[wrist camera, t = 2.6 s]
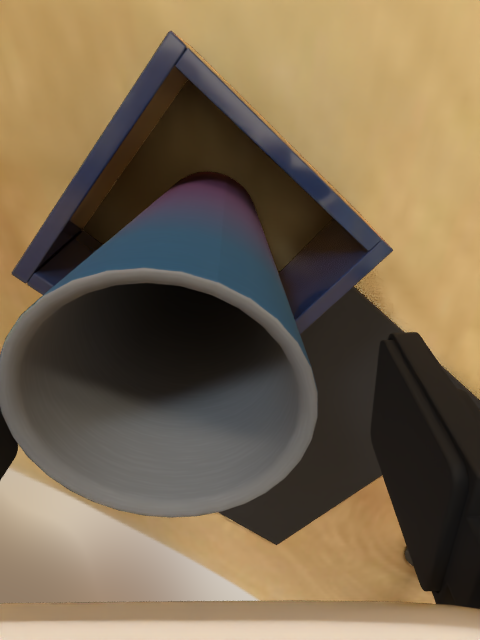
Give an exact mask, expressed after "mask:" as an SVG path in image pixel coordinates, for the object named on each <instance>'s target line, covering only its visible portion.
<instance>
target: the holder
mask: <svg viewBox="0 0 480 640" xmlns="http://www.w3.org/2000/svg"><path fill="white" fill-rule="evenodd" d="M188 79H189V80H190V81H191V82H192V83H193V84H194V85H195V86H196V87H197V88H198V89H199V90H200V91H201V92H202V93H203V94H204V95H205V96H206V97H207V98H208V99H209V100H210V101H212V102H213V103H214V104H215V105H216V106H217V107H218V108H219V109H220V110H221V111H222V112H223V113H224V114H225V115H226V116H227V117H228V118H229V119H230V120H231V121H232V122H233V123H235V124H236V125H237V126H238V127H239V128H240V129H241V130H242V131H243V132H244V133H245V134H246V135H247V136H248V137H249V138H250V139H251V140H252V141H253V142H254V143H255V144H256V145H258V146H259V147H260V148H261V149H262V150H263V151H264V152H265V153H266V154H267V155H268V156H269V157H270V158H271V159H272V160H273V161H274V162H275V163H276V164H277V165H278V166H279V167H280V168H282V169H283V170H284V171H285V172H286V173H287V174H288V175H289V176H290V177H291V178H292V179H293V180H294V181H295V182H296V183H297V184H298V185H299V186H300V187H301V188H302V189H303V190H305V191H306V192H307V193H308V194H309V195H310V196H311V197H312V198H313V199H314V200H315V201H316V202H317V203H318V204H319V205H320V206H321V207H322V208H323V209H324V210H325V211H326V212H327V213H329V214H330V215H331V216H332V217H333V219H332V220H331V221H330V222H329V223H328V224H327V225H326V226H325V227H324V228H323V229H322V230H321V231H320V232H319V233H318V234H317V235H316V236H315V237H314V238H313V239H312V240H311V241H310V242H309V243H308V244H307V245H306V247H305V248H304V249H303V250H302V251H301V252H300V253H299V254H298V255H297V256H296V257H295V258H294V259H293V260H292V261H291V262H290V263H289V264H288V265H287V266H286V267H285V268H284V269H283V270H282V271H281V272H280V273H279V277H280V280H281V282H282V285H283V288H284V291H285V294H286V297H287V299H288V302H289V305H290V308H291V311H292V313H293V316H294V319H295V322H296V325H297V328H298V330H299V333H300V334H301V333H303V332H304V331H305V330H306V329H307V328H308V327H309V326H310V325H311V324H312V323H314V322H315V321H316V320H317V319H318V318H319V317H320V316H321V315H322V314H324V313H325V312H326V311H327V310H328V309H329V308H330V307H331V306H332V305H333V304H335V303H336V302H337V301H338V300H339V299H340V298H341V297H342V296H343V295H345V294H346V293H347V292H348V291H349V290H350V289H351V288H352V287H353V286H354V285H356V284H357V283H358V282H359V281H360V280H361V279H362V278H363V277H364V276H366V275H367V274H368V273H369V272H370V271H371V270H372V269H373V268H374V267H375V266H377V265H378V264H379V263H380V262H381V261H382V260H383V259H384V258H385V257H387V256H388V255H389V254H390V253H391V252H392V251H393V249H392V248H391V247H390V246H389V245H388V244H387V243H386V241H385V240H384V239H383V238H382V237H381V236H380V235H379V234H378V233H377V232H376V231H375V230H374V228H373V227H372V226H371V225H370V224H369V223H368V222H367V221H366V220H365V219H364V218H363V217H362V215H361V214H360V213H359V212H358V211H357V210H356V209H355V208H354V207H353V206H352V205H351V204H350V203H349V202H348V201H347V200H346V199H345V198H344V197H343V196H342V195H341V194H340V193H339V192H338V191H337V190H336V189H335V188H334V187H333V186H332V185H331V184H330V183H329V182H328V181H327V180H326V179H325V178H324V177H323V176H322V175H321V174H320V173H319V172H318V171H317V170H316V169H315V168H314V167H313V166H312V165H311V164H310V163H309V162H308V161H306V160H305V159H304V158H303V157H302V156H301V155H300V154H299V153H298V152H297V151H296V150H295V149H294V148H293V147H292V146H291V145H290V144H289V143H288V142H287V141H286V140H285V139H284V138H283V137H282V136H281V135H280V134H279V133H278V132H277V131H276V130H275V129H274V128H273V127H272V126H271V125H270V124H269V123H268V122H267V121H266V120H265V119H264V118H263V117H262V116H261V115H260V114H259V113H258V112H257V111H256V110H255V109H254V108H253V107H252V106H251V105H250V104H249V103H248V102H247V101H246V100H245V99H244V98H243V97H242V96H241V95H240V94H239V93H238V92H237V91H236V90H235V89H234V88H233V87H232V86H231V85H230V84H229V83H228V82H227V81H226V80H225V79H224V78H223V77H222V76H221V75H220V74H219V73H218V72H217V71H216V70H215V69H214V68H213V67H212V66H211V65H210V64H209V63H208V62H207V61H206V60H205V59H203V58H202V56H201V55H200V54H199V53H198V52H197V51H196V50H195V49H194V48H193V47H191V46H190V45H189V44H188V43H186V42H185V41H184V40H182V39H181V38H180V37H179V36H177V35H176V34H175V33H174V32H172V31H169V32H168V33H167V35H166V36H165V38H164V40H163V41H162V43H161V44H160V46H159V47H158V49H157V50H156V52H155V53H154V55H153V56H152V58H151V59H150V61H149V63H148V64H147V66H146V67H145V69H144V70H143V72H142V73H141V75H140V76H139V78H138V79H137V81H136V82H135V84H134V86H133V87H132V89H131V90H130V92H129V93H128V95H127V96H126V98H125V99H124V101H123V102H122V104H121V105H120V107H119V109H118V110H117V112H116V113H115V115H114V116H113V118H112V119H111V121H110V122H109V124H108V125H107V127H106V129H105V130H104V132H103V133H102V135H101V136H100V138H99V139H98V141H97V142H96V144H95V145H94V147H93V148H92V150H91V152H90V153H89V155H88V156H87V158H86V159H85V161H84V162H83V164H82V165H81V167H80V168H79V170H78V171H77V173H76V175H75V176H74V178H73V179H72V181H71V182H70V184H69V185H68V187H67V188H66V190H65V191H64V193H63V194H62V196H61V198H60V199H59V201H58V202H57V204H56V205H55V207H54V208H53V210H52V211H51V213H50V214H49V216H48V217H47V219H46V221H45V222H44V224H43V225H42V227H41V228H40V230H39V231H38V233H37V234H36V236H35V237H34V239H33V240H32V242H31V244H30V245H29V247H28V248H27V250H26V251H25V253H24V254H23V256H22V257H21V259H20V260H19V262H18V263H17V265H16V267H15V268H14V270H13V271H12V275H13V276H15V277H16V278H18V279H19V280H21V281H22V282H24V283H27V282H28V283H27V284H28V285H29V286H30V287H32V288H33V289H35V290H36V291H38V292H39V293H41V294H42V295H44V294H45V293H46V292H48V291H49V290H50V289H51V288H52V287H53V286H55V285H56V284H57V283H58V282H59V281H61V280H62V279H63V278H64V277H65V276H67V275H68V274H69V273H70V272H71V271H73V270H74V269H75V268H76V267H77V266H78V265H80V264H81V263H82V262H83V261H84V260H86V259H87V258H88V257H89V256H90V255H92V254H93V253H94V252H95V251H96V250H98V249H99V248H100V247H101V246H102V244H101V243H100V242H98V241H97V240H96V239H94V238H93V237H91V236H90V235H89V234H87V233H86V232H85V231H83V230H82V229H83V228H84V227H85V225H86V224H87V222H88V221H89V219H90V218H91V217H92V215H93V214H94V212H95V211H96V210H97V208H98V207H99V205H100V204H101V202H102V201H103V200H104V198H105V197H106V195H107V194H108V192H109V191H110V190H111V188H112V187H113V185H114V184H115V183H116V181H117V180H118V178H119V177H120V175H121V174H122V173H123V171H124V170H125V168H126V167H127V165H128V164H129V163H130V161H131V160H132V158H133V157H134V156H135V154H136V153H137V151H138V150H139V148H140V147H141V146H142V144H143V143H144V141H145V140H146V138H147V137H148V136H149V134H150V133H151V131H152V130H153V129H154V127H155V126H156V124H157V123H158V121H159V120H160V119H161V117H162V116H163V114H164V113H165V111H166V110H167V109H168V107H169V106H170V104H171V103H172V102H173V100H174V99H175V97H176V96H177V94H178V93H179V92H180V90H181V89H182V87H183V86H184V84H185V83H186V82H187V80H188Z"/></svg>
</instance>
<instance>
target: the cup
mask: <svg viewBox="0 0 480 640" xmlns="http://www.w3.org/2000/svg"><path fill="white" fill-rule="evenodd" d="M0 407H1V412H2V415H3V417H4V419H5V421H6V423H7V425H8V428H9V430H10V432H11V434H12V436H13V438H14V439H15V440H16V442H17V443H18V444H19V446H20V447H21V448H22V450H23V451H24V452H25V454H26V455H27V456H28V457H29V458H30V459H31V460H32V461H33V462H34V463H35V464H36V465H37V466H38V467H39V468H40V469H41V470H42V471H44V472H45V473H46V474H47V475H48V476H49V477H51V478H52V479H54V480H55V481H57V482H58V483H60V484H61V485H63V486H64V487H66V488H67V489H69V490H70V491H72V492H74V493H76V494H78V495H80V496H83V497H85V498H87V499H89V500H91V501H93V502H95V503H98V504H101V505H104V506H107V507H110V508H113V509H116V510H120V511H125V512H130V513H135V514H139V515H144V516H158V517H190V516H200V515H205V514H211V513H216V512H221V511H224V510H227V509H230V508H233V507H236V506H239V505H242V504H245V503H247V502H249V501H251V500H253V499H255V498H257V497H258V496H260V495H262V494H264V493H266V492H268V491H269V490H270V489H271V488H273V487H274V486H275V485H277V484H278V483H279V482H280V481H282V480H283V479H284V478H286V476H287V475H288V474H289V473H290V472H291V471H292V469H293V468H294V467H295V466H296V465H297V464H298V463H299V461H300V460H301V459H302V457H303V455H304V453H305V451H306V449H307V447H308V446H309V444H310V442H311V440H312V437H313V433H314V429H315V425H316V421H317V417H318V391H317V387H316V383H315V379H314V375H313V371H312V367H311V364H310V361H309V359H308V356H307V353H306V350H305V347H304V345H303V342H302V339H301V336H300V333H299V330H298V328H297V325H296V322H295V319H294V316H293V313H292V311H291V308H290V305H289V302H288V299H287V297H286V294H285V291H284V288H283V285H282V282H281V280H280V277H279V274H278V271H277V268H276V266H275V263H274V260H273V257H272V254H271V251H270V249H269V246H268V243H267V240H266V237H265V235H264V232H263V229H262V226H261V223H260V220H259V218H258V215H257V212H256V209H255V206H254V203H253V201H252V199H251V198H250V196H249V194H248V193H247V191H246V190H245V189H244V188H243V187H242V186H241V185H240V184H239V183H238V182H237V181H235V180H234V179H232V178H230V177H228V176H226V175H223V174H220V173H216V172H198V173H195V174H191V175H188V176H187V177H185V178H183V179H181V180H180V181H179V182H177V183H176V184H175V185H174V186H173V187H171V188H170V189H169V190H168V191H167V192H165V193H164V194H163V195H162V196H161V197H160V198H158V199H157V200H156V201H155V202H154V203H152V204H151V205H150V206H149V207H148V208H146V209H145V210H144V211H143V212H142V213H140V214H139V215H138V216H137V217H136V218H134V219H133V220H132V221H131V222H130V223H129V224H127V225H126V226H125V227H124V228H123V229H121V230H120V231H119V232H118V233H117V234H115V235H114V236H113V237H112V238H111V239H109V240H108V241H107V242H106V243H105V244H104V245H102V246H101V247H100V248H99V249H98V250H96V251H95V252H94V253H93V254H92V255H90V256H89V257H88V258H87V259H86V260H84V261H83V262H82V263H81V264H80V265H78V266H77V267H76V268H75V269H74V270H73V271H71V272H70V273H69V274H68V275H67V276H65V277H64V278H63V279H62V280H61V281H59V282H58V283H57V284H56V285H55V286H53V287H52V288H51V289H50V290H49V291H48V292H46V293H45V294H44V295H43V296H42V297H41V298H39V299H38V300H37V301H36V302H35V303H34V304H33V305H32V306H30V307H29V308H28V309H27V310H26V311H25V312H24V313H23V314H21V316H20V317H19V319H18V320H17V322H16V323H15V325H14V326H13V328H12V329H11V331H10V332H9V334H8V335H7V337H6V338H5V342H4V345H3V348H2V351H1V354H0Z"/></svg>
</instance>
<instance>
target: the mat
mask: <svg viewBox="0 0 480 640" xmlns="http://www.w3.org/2000/svg"><path fill="white" fill-rule="evenodd" d="M391 333H404V332H403V331H402V330H401V329H400V328H399V327H398V326H397V325H396V324H394V323H393V322H392V321H391V320H390V319H389V318H388V317H387V316H386V315H385V314H383V313H382V312H381V311H380V310H379V309H378V308H377V307H376V306H375V305H373V304H372V303H371V302H370V301H369V300H368V299H367V298H366V297H365V296H363V295H362V294H361V293H360V292H359V291H358V290H357V289H356V288H355V287H352V288H351V289H350V290H349V291H348V292H347V293H346V294H345V295H343V296H342V297H341V298H340V299H339V300H338V301H337V302H336V303H335V304H333V305H332V306H331V307H330V308H329V309H328V310H327V311H326V312H325V313H324V314H322V315H321V316H320V317H319V318H318V319H317V320H316V321H315V322H314V323H312V324H311V325H310V326H309V327H308V328H307V329H306V330H305V331H304V332H303V333H301V334H300V336H301V339H302V342H303V345H304V347H305V350H306V353H307V356H308V359H309V361H310V364H311V367H312V371H313V375H314V379H315V383H316V387H317V391H318V417H317V421H316V425H315V429H314V433H313V437H312V440H311V442H310V444H309V446H308V447H307V449H306V451H305V453H304V455H303V457H302V459H301V460H300V461H299V463H298V464H297V465H296V466H295V467H294V468H293V469H292V471H291V472H290V473H289V474H288V475H287V476H286V478H284V479H283V480H282V481H280V482H279V483H278V484H277V485H275V486H274V487H273V488H271V489H270V490H269V491H268V492H266V493H264V494H262V495H260V496H258V497H257V498H255V499H253V500H251V501H249V502H247V503H245V504H242V505H239V506H236V507H233V508H230V509H227V510H224V511H221V512H219V513H220V514H222V515H224V516H226V517H227V518H229V519H231V520H233V521H235V522H236V523H238V524H240V525H242V526H243V527H245V528H247V529H249V530H251V531H252V532H254V533H256V534H258V535H260V536H261V537H263V538H265V539H267V540H268V541H270V542H272V543H274V544H276V545H277V544H279V543H280V542H282V541H283V540H285V539H287V538H288V537H290V536H291V535H293V534H294V533H296V532H297V531H299V530H300V529H302V528H303V527H305V526H306V525H308V524H309V523H311V522H312V521H314V520H315V519H317V518H318V517H320V516H321V515H323V514H324V513H326V512H327V511H329V510H330V509H332V508H333V507H335V506H336V505H338V504H339V503H341V502H342V501H344V500H345V499H347V498H348V497H350V496H351V495H353V494H354V493H356V492H357V491H359V490H360V489H362V488H364V487H365V486H367V485H368V484H370V483H371V482H373V481H374V480H376V479H377V478H379V477H380V476H382V472H381V469H380V466H379V463H378V461H377V458H376V455H375V452H374V449H373V446H372V442H371V434H370V430H371V420H372V410H373V401H374V392H375V382H376V373H377V364H378V354H379V346H380V342H381V341H382V340H388V337H389V335H390V334H391ZM441 367H442V366H441ZM442 368H443V367H442ZM443 369H444V368H443ZM444 371H445V372H446V374H447V375H448V377H449V378H450V380H451V381H452V382H453V384H454V385H455V387H456V388H457V389H462V390H465V391H466V392H467V394H468V395H469V396H470V397H471V399H472V400H473V401H474V403H475V404H476V405H477V407H478V408H479V410H480V400H479V399H478V398H477V397H475V396H474V395H473V394H472V393H471V392H470V391H469V390H468V389H467V388H465V387H464V386H463V385H462V384H461V383H460V382H459V381H458V380H457V379H455V378H454V377H453V376H452V375H451V374H450V373H449V372H448V371H447V370H445V369H444Z"/></svg>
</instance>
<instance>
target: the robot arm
mask: <svg viewBox="0 0 480 640" xmlns="http://www.w3.org/2000/svg"><path fill="white" fill-rule="evenodd" d="M370 434H371V442H372V446H373V449H374V452H375V455H376V458H377V461H378V463H379V466H380V469H381V472H382V475H383V478H384V481H385V484H386V487H387V490H388V493H389V496H390V498H391V501H392V504H393V507H394V510H395V513H396V516H397V519H398V522H399V525H400V528H401V531H402V533H403V536H404V539H405V542H406V545H407V548H408V551H409V554H410V557H411V560H412V563H413V566H414V568H415V571H416V574H417V577H418V580H419V583H420V585H421V587H422V589H423V590H424V591H432V593H433V596H434V599H435V602H436V604H427V603H410V602H377V601H184V602H183V601H173V602H172V601H171V602H77V603H7V604H6V603H2V604H0V640H480V410H479V408H478V407H477V405H476V404H475V403H474V401H473V400H472V399H471V397H470V396H469V395H468V394H467V392H466V391H465V390H462V389H457V388H456V387H455V385H454V384H453V382H452V381H451V380H450V378H449V377H448V375H447V374H446V372H445V371H444V369H443V368H442V367H441V365H440V364H439V362H438V361H437V359H436V358H435V357H434V355H433V354H432V352H431V351H430V349H429V348H428V346H427V345H426V344H425V342H424V341H423V339H422V338H421V336H420V335H419V334H418V333H417V332H409V333H391V334H390V335H389V337H388V340H382V341H381V342H380V346H379V354H378V364H377V373H376V382H375V392H374V401H373V410H372V420H371V430H370ZM17 451H18V443H17V442H16V440H15V439H14V438H13V436H12V434H11V432H10V430H9V428H8V425H7V423H6V421H5V419H4V417H3V415H2V412H1V407H0V480H1V478H2V477H3V475H4V474H5V472H6V471H7V469H8V468H9V466H10V465H11V463H12V461H13V460H14V458H15V456H16V454H17Z"/></svg>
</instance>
